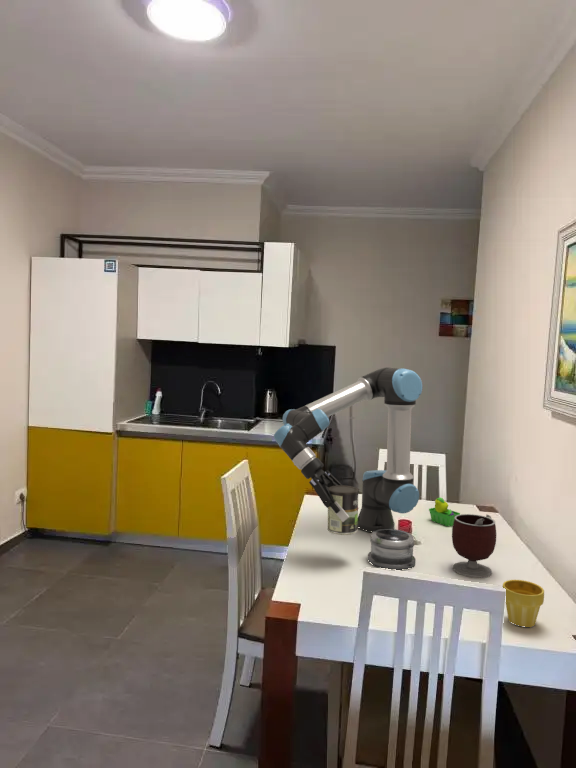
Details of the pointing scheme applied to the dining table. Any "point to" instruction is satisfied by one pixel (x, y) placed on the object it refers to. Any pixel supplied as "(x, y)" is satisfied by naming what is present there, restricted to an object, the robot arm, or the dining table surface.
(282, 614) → the dining table surface
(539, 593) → the plant pot
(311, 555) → the dining table surface
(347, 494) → the coffee can
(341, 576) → the dining table surface
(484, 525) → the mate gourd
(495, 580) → the dining table surface
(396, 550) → the cylinder
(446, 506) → the fruit basket
